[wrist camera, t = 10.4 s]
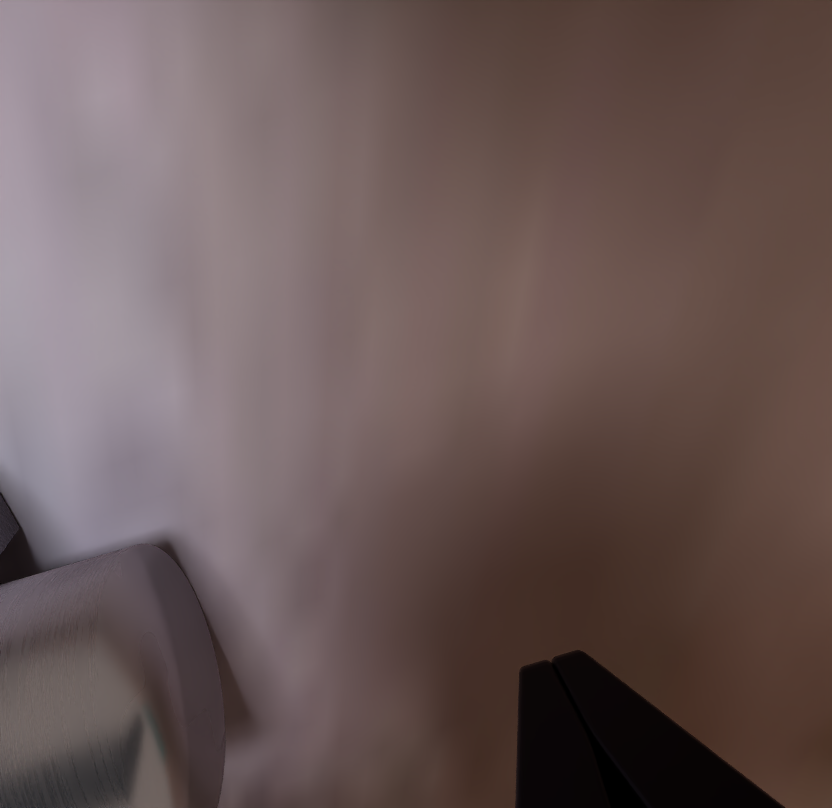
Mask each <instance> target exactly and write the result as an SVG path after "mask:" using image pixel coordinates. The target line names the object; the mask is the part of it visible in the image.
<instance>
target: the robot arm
mask: <svg viewBox="0 0 832 808" xmlns="http://www.w3.org/2000/svg"><path fill="white" fill-rule="evenodd" d="M515 808H785V807H784V806H783V805H781V804H780V803H779V802H777V801H776V800H775V799H774V798H772V797H771V796H770V795H768V794H767V793H766V792H764V791H763V790H762V789H761V788H759V787H758V786H757V785H755V784H754V783H753V782H752V781H750V780H749V779H748V778H746V777H745V776H744V775H743V774H741V773H740V772H739V771H737V770H736V769H735V768H733V767H732V766H731V765H730V764H728V763H727V762H726V761H724V760H723V759H722V758H721V757H719V756H718V755H717V754H715V753H714V752H713V751H712V750H710V749H709V748H708V747H706V746H705V745H704V744H702V743H701V742H700V741H699V740H697V739H696V738H695V737H693V736H692V735H691V734H690V733H688V732H687V731H686V730H684V729H683V728H682V727H681V726H679V725H678V724H677V723H675V722H674V721H673V720H671V719H670V718H669V717H668V716H666V715H665V714H664V713H662V712H661V711H660V710H659V709H657V708H656V707H655V706H653V705H652V704H651V703H650V702H648V701H647V700H646V699H644V698H643V697H642V696H640V695H639V694H638V693H637V692H635V691H634V690H633V689H631V688H630V687H629V686H628V685H626V684H625V683H624V682H622V681H621V680H620V679H619V678H617V677H616V676H615V675H613V674H612V673H611V672H609V671H608V670H607V669H606V668H604V667H603V666H602V665H600V664H599V663H598V662H597V661H595V660H594V659H593V658H591V657H590V656H589V655H588V654H586V653H585V652H583V651H580V650H576V651H572V652H569V653H566V654H562V655H559V656H556V657H554V658H553V659H552V662H550V661H548V660H543V661H540V662H536V663H533V664H530V665H527V666H524V667H522V668H521V669H520V672H519V696H518V732H517V768H516V803H515Z"/></svg>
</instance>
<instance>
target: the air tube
mask: <svg viewBox="0 0 832 808" xmlns="http://www.w3.org/2000/svg"><path fill="white" fill-rule="evenodd" d="M224 763H225V718H224V706H223V696H222V689H221V681H220V676H219V670H218V664H217V660H216V656H215V651H214V647H213V643H212V640H211V636H210V632H209V629H208V626H207V623H206V620H205V617H204V615H203V612H202V609H201V607H200V604H199V602H198V600H197V597H196V595H195V593H194V591H193V589H192V587H191V585H190V583H189V581H188V580H187V578H186V577H185V575H184V573H183V572H182V570H181V569H180V568H179V566H178V565H177V564H176V562H175V561H174V560H173V559H172V558H171V557H170V556H169V555H168V554H167V553H165V552H164V551H163V550H162V549H160V548H158V547H156V546H154V545H150V544H139V545H135V546H132V547H128V548H125V549H122V550H118V551H115V552H111V553H108V554H104V555H101V556H97V557H94V558H91V559H87V560H84V561H80V562H77V563H73V564H70V565H67V566H63V567H60V568H56V569H53V570H49V571H46V572H42V573H39V574H36V575H32V576H29V577H25V578H22V579H18V580H15V581H12V582H8V583H5V584H1V585H0V808H217V806H218V802H219V798H220V794H221V788H222V782H223V773H224Z"/></svg>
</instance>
